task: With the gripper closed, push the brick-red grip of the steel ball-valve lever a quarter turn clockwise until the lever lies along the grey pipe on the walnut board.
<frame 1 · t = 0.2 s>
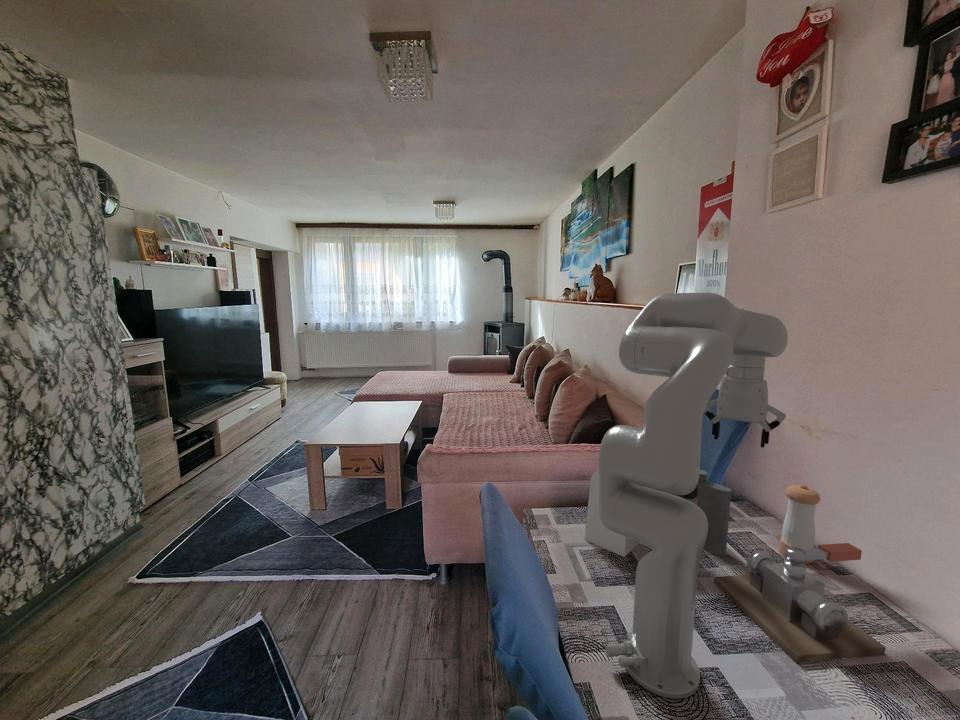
hand: (739, 442, 101), 31 cm above the table, tool pointing down, fingers open, 9 cm apart
salt shaker: (795, 555, 106), on the table
valve body: (792, 585, 85), on the walnut board, point 6 cm above the table
walnut board: (789, 614, 85), on the table
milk: (614, 539, 113), on the table
valve lever: (821, 554, 84), point 13 cm above the table, hinge at 0.0°
hip flask: (695, 541, 113), on the table
travel mug: (676, 558, 105), on the table
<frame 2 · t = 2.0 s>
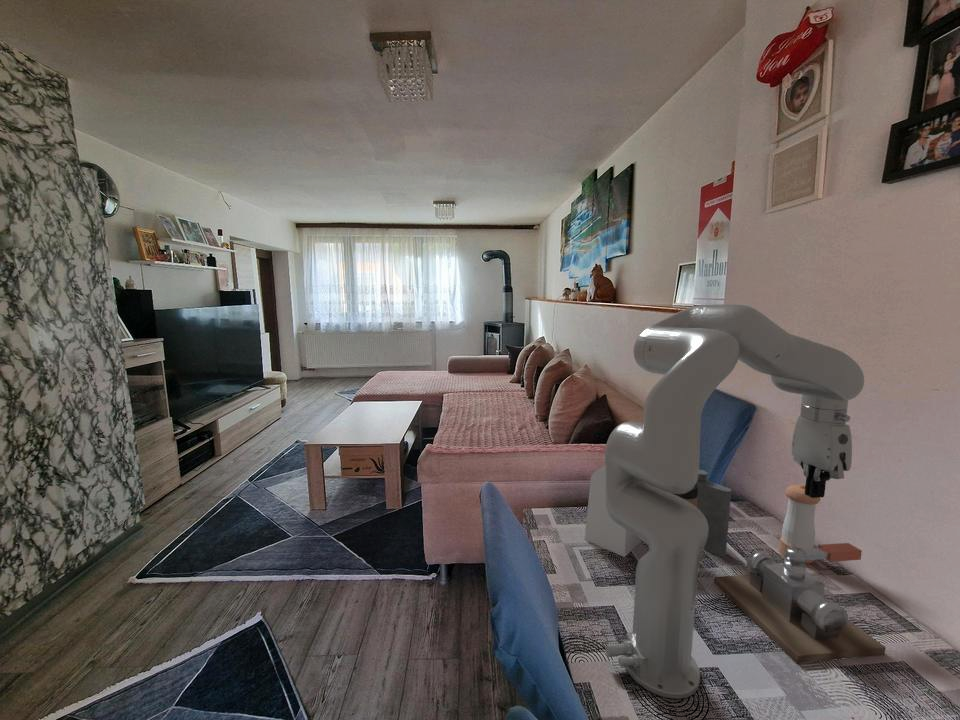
hand: (814, 495, 90), 23 cm above the table, tool pointing down, fingers closed
nothing on the table moved.
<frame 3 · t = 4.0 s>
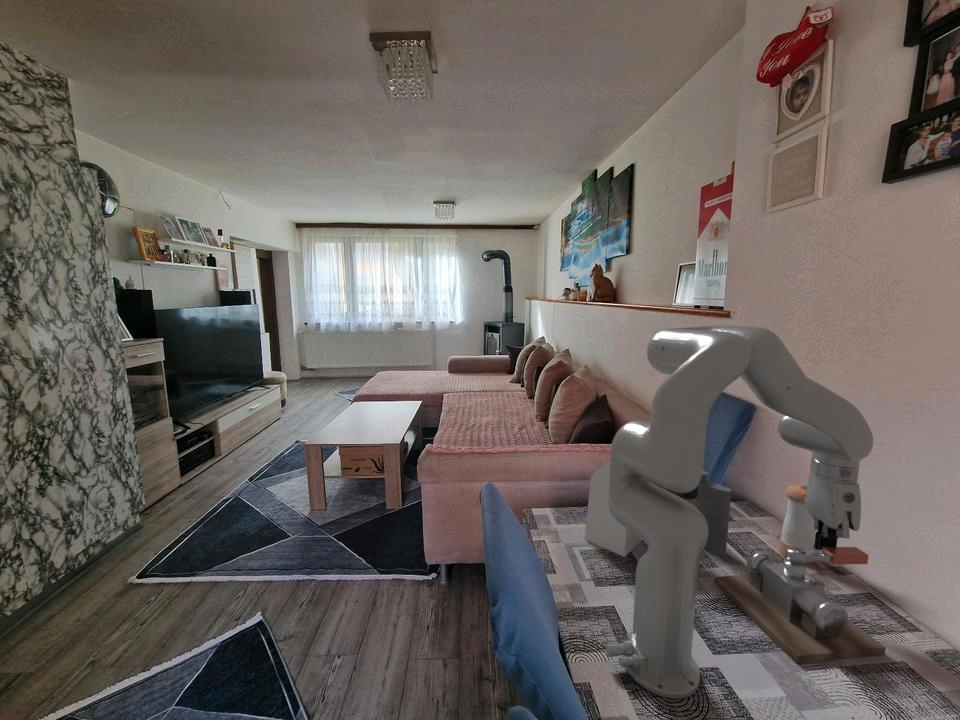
hand: (824, 551, 87), 12 cm above the table, tool pointing down, fingers closed
valve lever: (824, 556, 84), point 13 cm above the table, hinge at 6.6°, touching gripper
everything else where it was.
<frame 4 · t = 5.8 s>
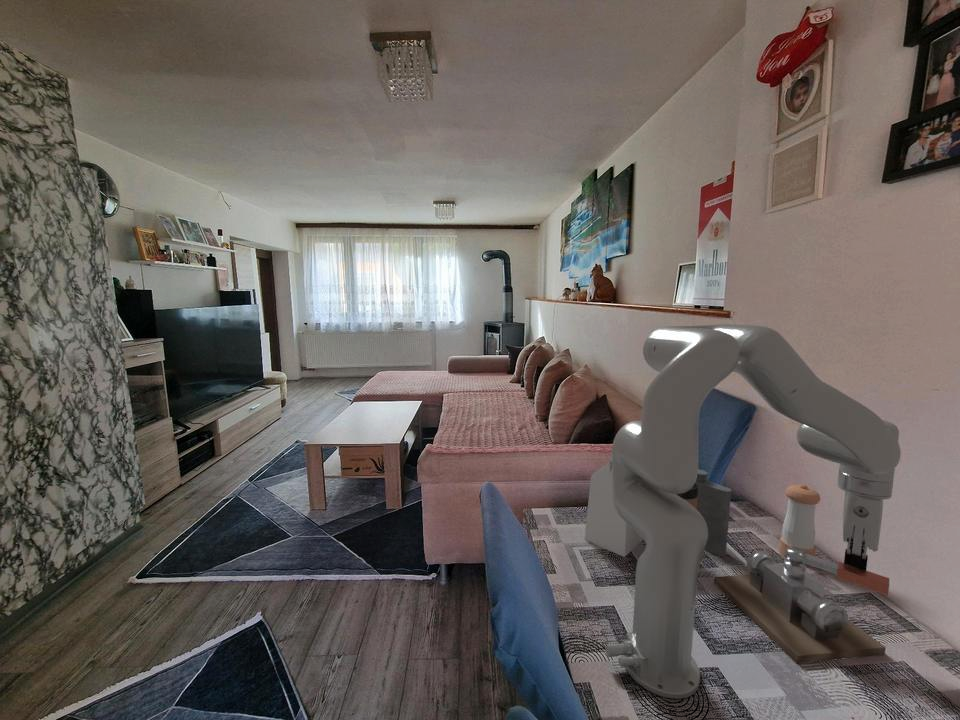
hand: (854, 572, 80), 12 cm above the table, tool pointing down, fingers closed
valve lever: (833, 569, 80), point 13 cm above the table, hinge at 51.7°, touching gripper
everything else where it was.
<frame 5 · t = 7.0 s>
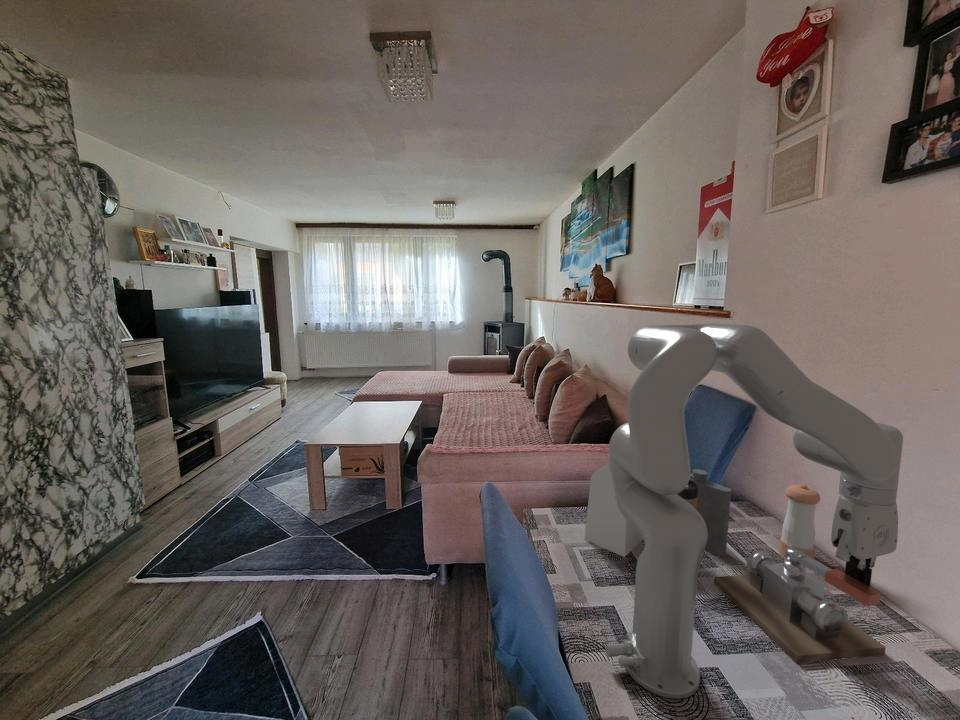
hand: (856, 584, 76), 12 cm above the table, tool pointing down, fingers closed
valve lever: (827, 574, 78), point 13 cm above the table, hinge at 80.6°, touching gripper
everything else where it was.
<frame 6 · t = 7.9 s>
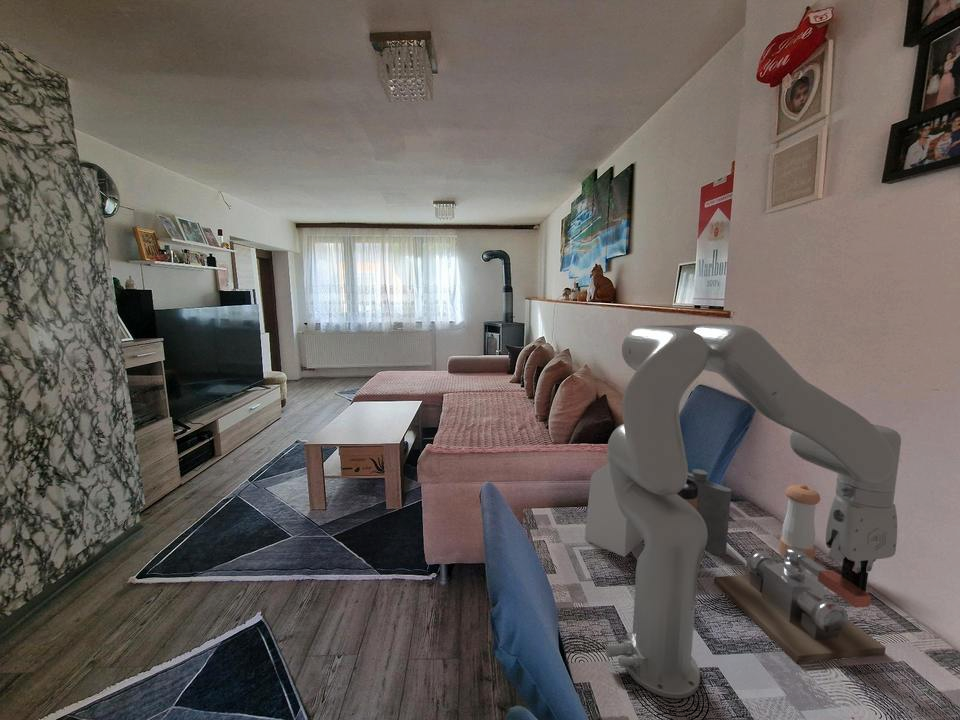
hand: (852, 587, 75), 12 cm above the table, tool pointing down, fingers closed
valve lever: (822, 574, 78), point 13 cm above the table, hinge at 91.3°, touching gripper
everything else where it was.
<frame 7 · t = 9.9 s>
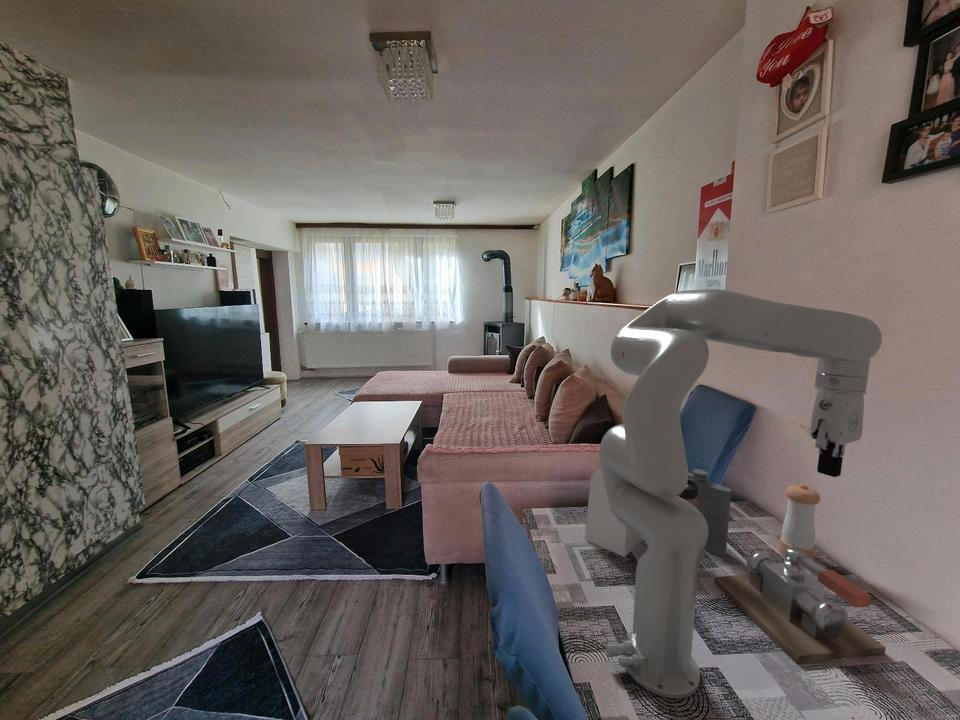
hand: (828, 474, 81), 31 cm above the table, tool pointing down, fingers closed
valve lever: (822, 574, 78), point 13 cm above the table, hinge at 91.3°
everything else where it was.
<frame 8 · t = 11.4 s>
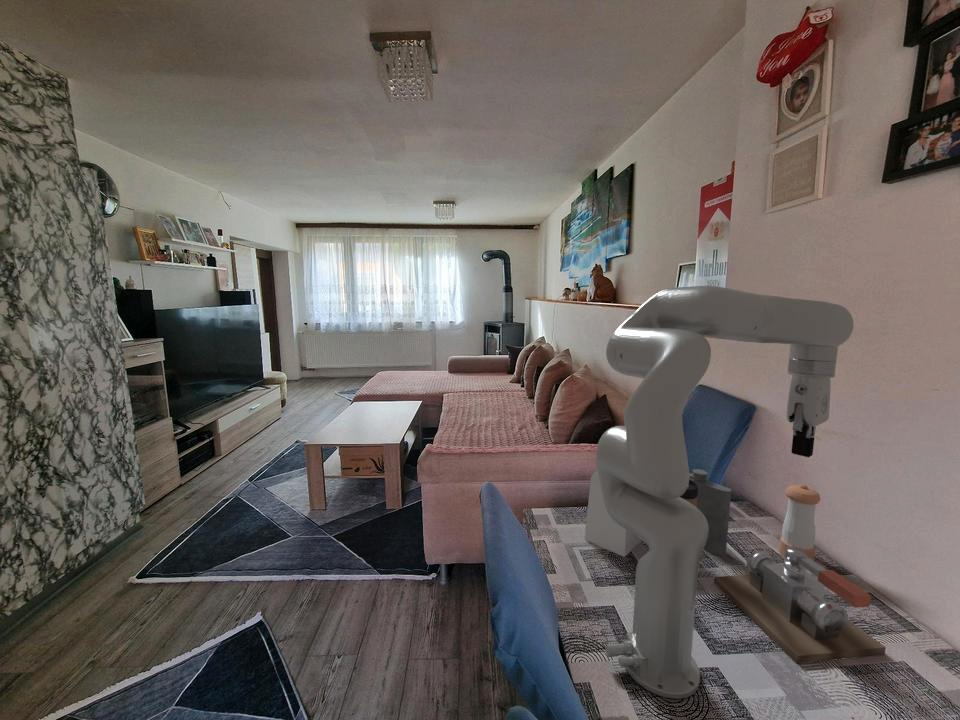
hand: (801, 454, 86), 33 cm above the table, tool pointing down, fingers closed
nothing on the table moved.
at the end: valve lever at +91° (first picture: +0°) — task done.
